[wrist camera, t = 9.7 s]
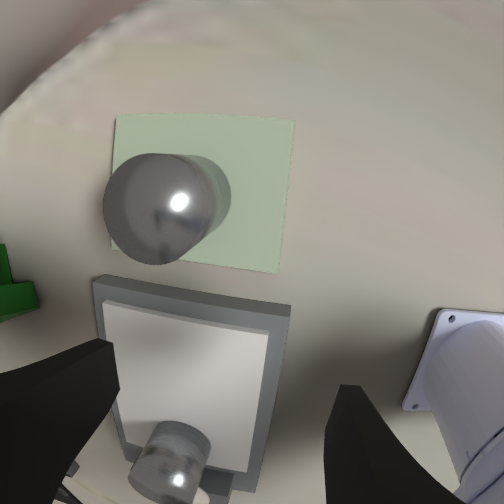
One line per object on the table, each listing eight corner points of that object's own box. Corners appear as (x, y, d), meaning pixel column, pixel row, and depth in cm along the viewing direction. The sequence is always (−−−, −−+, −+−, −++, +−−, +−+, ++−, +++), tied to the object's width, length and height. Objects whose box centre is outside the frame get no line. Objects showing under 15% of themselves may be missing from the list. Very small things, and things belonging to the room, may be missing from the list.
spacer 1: (236, 159, 16) (209, 157, 11) (226, 242, 17) (198, 274, 12) (157, 152, 16) (106, 150, 11) (151, 230, 18) (102, 255, 13)
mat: (294, 121, 15) (294, 120, 15) (277, 270, 18) (277, 273, 17) (122, 116, 17) (116, 115, 16) (116, 246, 19) (111, 249, 18)
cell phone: (87, 505, 33) (84, 509, 32) (32, 486, 37) (29, 489, 36) (53, 472, 31) (50, 475, 31) (4, 455, 36) (1, 458, 35)
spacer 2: (211, 429, 19) (191, 484, 14) (210, 463, 20) (194, 513, 16) (151, 413, 20) (122, 463, 15) (157, 449, 21) (134, 495, 16)
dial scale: (290, 305, 18) (287, 345, 14) (256, 485, 23) (248, 522, 19) (104, 274, 19) (65, 299, 15) (133, 455, 25) (115, 486, 21)
